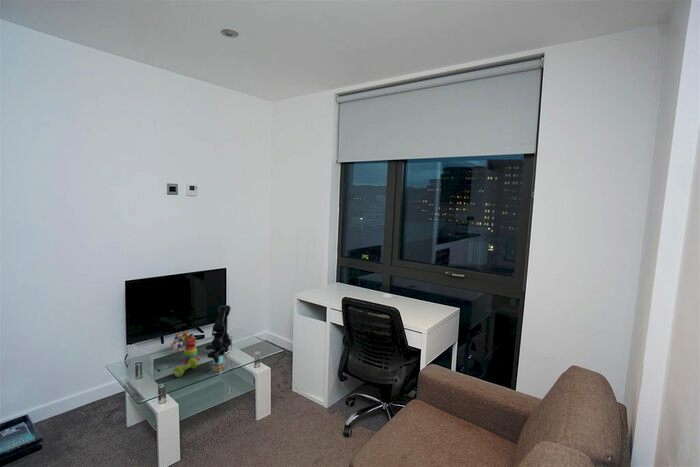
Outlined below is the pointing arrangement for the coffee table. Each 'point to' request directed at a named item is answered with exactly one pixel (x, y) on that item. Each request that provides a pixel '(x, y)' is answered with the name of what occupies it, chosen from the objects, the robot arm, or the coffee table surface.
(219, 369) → the walnut brick
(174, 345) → the doll family
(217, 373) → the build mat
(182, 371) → the dumbbell
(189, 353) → the stacking bear
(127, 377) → the coffee table surface
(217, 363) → the teal brick
